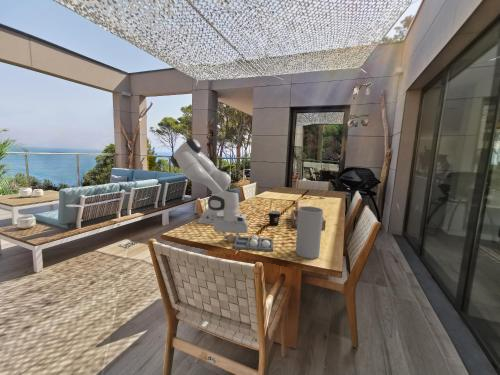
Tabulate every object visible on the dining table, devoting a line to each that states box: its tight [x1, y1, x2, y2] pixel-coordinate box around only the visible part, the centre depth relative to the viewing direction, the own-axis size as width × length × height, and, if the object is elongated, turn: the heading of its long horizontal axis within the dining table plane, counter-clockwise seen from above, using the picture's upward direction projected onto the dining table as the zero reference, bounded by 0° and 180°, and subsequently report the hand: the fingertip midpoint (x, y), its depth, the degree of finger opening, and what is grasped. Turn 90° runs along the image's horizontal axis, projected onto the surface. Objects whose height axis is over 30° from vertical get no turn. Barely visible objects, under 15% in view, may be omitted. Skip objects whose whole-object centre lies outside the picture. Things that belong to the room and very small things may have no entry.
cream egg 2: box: [250, 239, 258, 247], centre depth 126 cm, size 5×5×5 cm
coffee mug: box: [263, 210, 281, 227], centre depth 167 cm, size 12×9×10 cm
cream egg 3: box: [262, 240, 270, 248], centre depth 125 cm, size 5×5×5 cm
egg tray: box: [232, 236, 274, 252], centre depth 129 cm, size 22×15×2 cm
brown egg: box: [226, 233, 235, 243], centre depth 133 cm, size 5×5×5 cm
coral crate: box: [290, 209, 327, 231], centre depth 173 cm, size 22×25×7 cm
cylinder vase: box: [295, 205, 324, 260], centre depth 119 cm, size 12×12×25 cm
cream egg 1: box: [251, 234, 259, 241], centre depth 132 cm, size 5×5×5 cm
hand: (230, 238), depth 133 cm, fingers closed on brown egg, 4 cm apart
